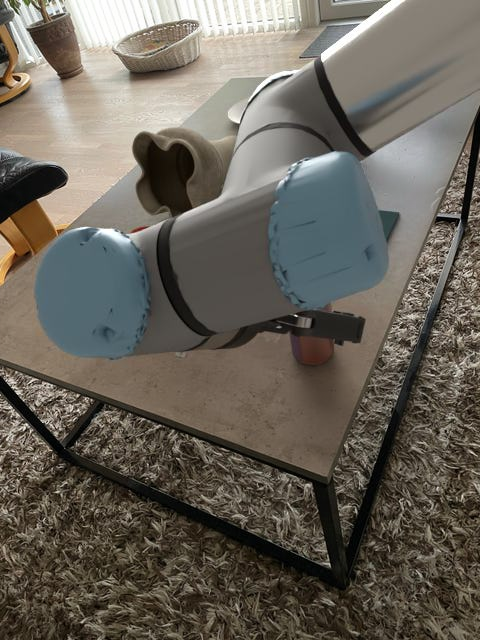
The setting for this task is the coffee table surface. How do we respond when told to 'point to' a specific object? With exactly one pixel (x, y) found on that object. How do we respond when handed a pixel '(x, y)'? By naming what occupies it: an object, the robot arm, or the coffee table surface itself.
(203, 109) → the coffee table surface
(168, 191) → the vase
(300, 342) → the beverage can
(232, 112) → the plate
